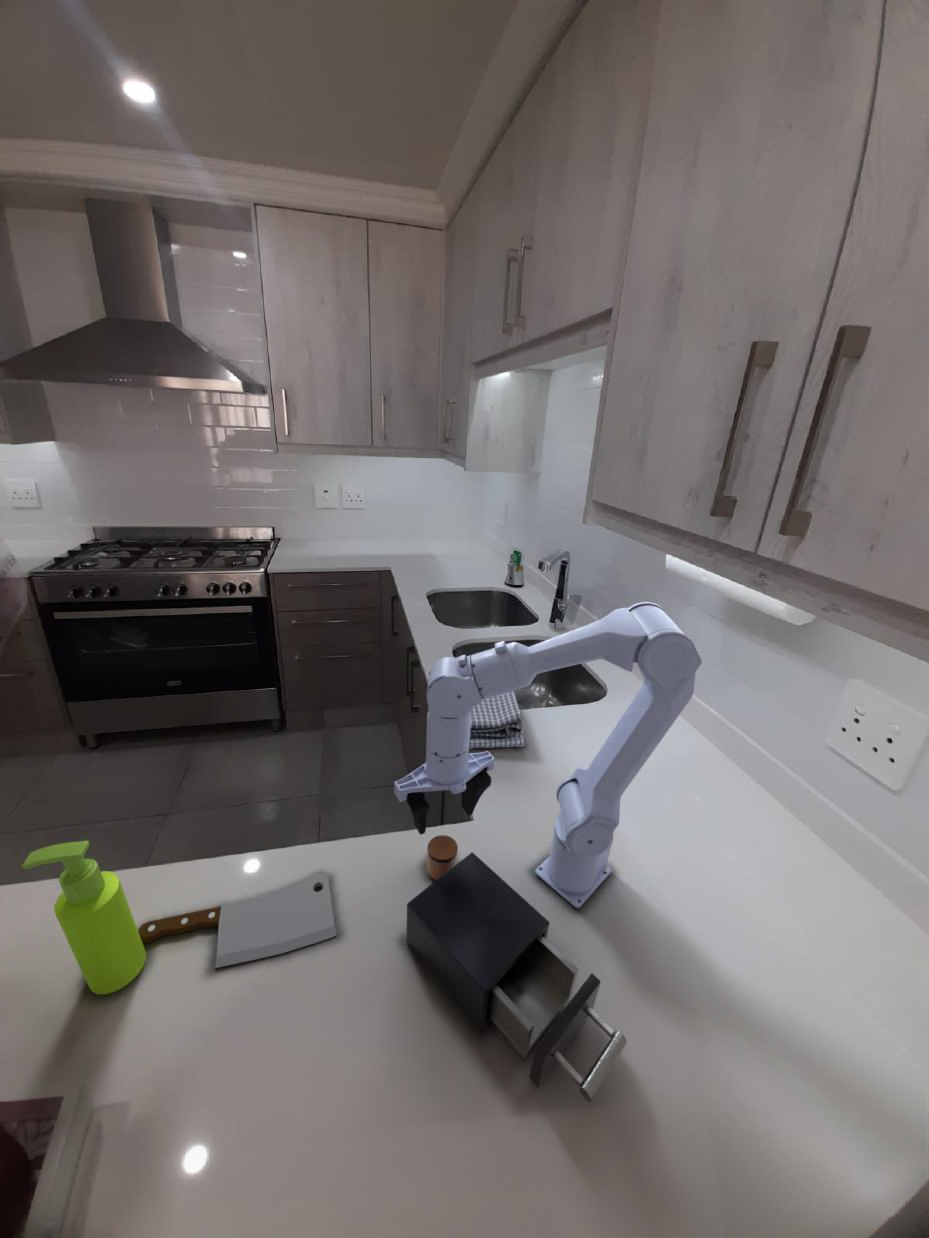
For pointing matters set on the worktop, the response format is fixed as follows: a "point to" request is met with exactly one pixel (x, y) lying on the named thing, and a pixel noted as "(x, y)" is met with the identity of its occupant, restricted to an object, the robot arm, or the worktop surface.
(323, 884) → the kitchen cleaver
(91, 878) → the soap dispenser
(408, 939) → the black drawer cabinet
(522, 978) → the drawer
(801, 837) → the worktop surface
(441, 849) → the spice tin
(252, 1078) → the worktop surface
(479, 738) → the towel
